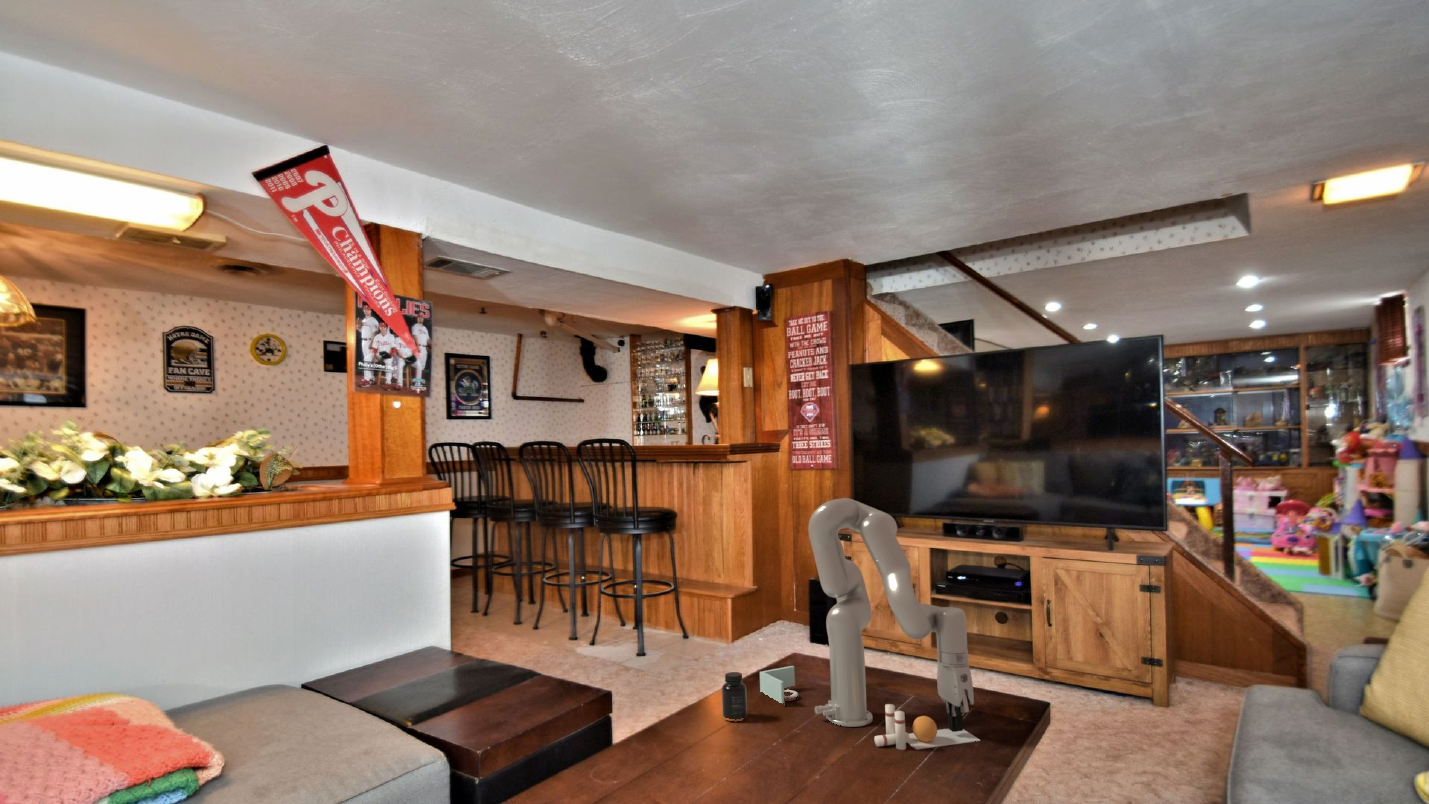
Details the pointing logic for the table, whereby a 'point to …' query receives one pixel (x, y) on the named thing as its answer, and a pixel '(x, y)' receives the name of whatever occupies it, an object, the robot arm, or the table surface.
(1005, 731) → the table surface
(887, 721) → the back pin left
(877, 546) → the robot arm
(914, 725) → the ball
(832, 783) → the table surface
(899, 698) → the table surface
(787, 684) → the right angle wall
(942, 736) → the lane mark
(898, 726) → the back pin right
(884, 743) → the front pin
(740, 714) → the supplement bottle
